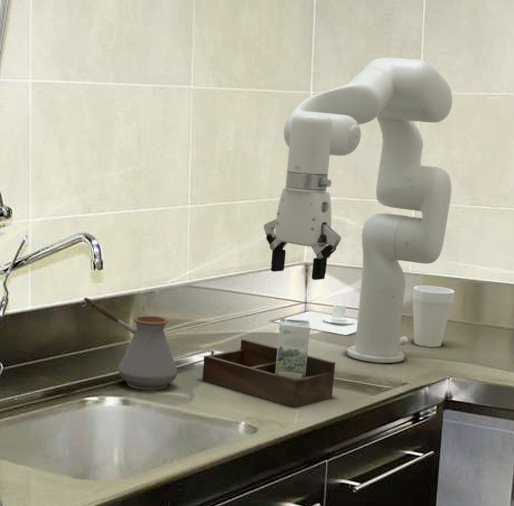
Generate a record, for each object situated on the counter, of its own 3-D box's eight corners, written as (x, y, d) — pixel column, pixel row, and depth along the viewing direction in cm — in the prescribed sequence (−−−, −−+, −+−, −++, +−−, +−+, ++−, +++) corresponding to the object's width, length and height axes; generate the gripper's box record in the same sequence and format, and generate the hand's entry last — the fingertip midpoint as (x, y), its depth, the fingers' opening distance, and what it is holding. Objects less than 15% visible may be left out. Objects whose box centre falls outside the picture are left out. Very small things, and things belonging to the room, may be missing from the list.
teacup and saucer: (344, 327, 300) (345, 311, 299) (315, 322, 304) (316, 306, 303) (359, 322, 307) (360, 306, 306) (330, 317, 312) (332, 301, 310)
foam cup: (453, 344, 290) (460, 290, 286) (439, 350, 282) (446, 295, 279) (416, 337, 294) (422, 284, 291) (401, 343, 287) (407, 288, 283)
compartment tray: (241, 372, 250) (244, 338, 248) (332, 397, 235) (335, 362, 233) (202, 380, 241) (204, 346, 240) (293, 407, 226) (296, 370, 224)
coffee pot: (187, 384, 238) (192, 308, 234) (158, 396, 228) (162, 317, 224) (94, 365, 247) (98, 293, 243) (63, 376, 238) (66, 300, 234)
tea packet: (303, 392, 237) (310, 319, 233) (303, 400, 231) (310, 325, 228) (273, 390, 238) (280, 317, 234) (273, 397, 232) (279, 323, 228)
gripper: (356, 187, 221) (346, 281, 225) (282, 177, 232) (274, 266, 237) (331, 188, 216) (322, 284, 220) (257, 178, 227) (249, 269, 231)
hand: (297, 275), depth 228 cm, fingers open, 9 cm apart
